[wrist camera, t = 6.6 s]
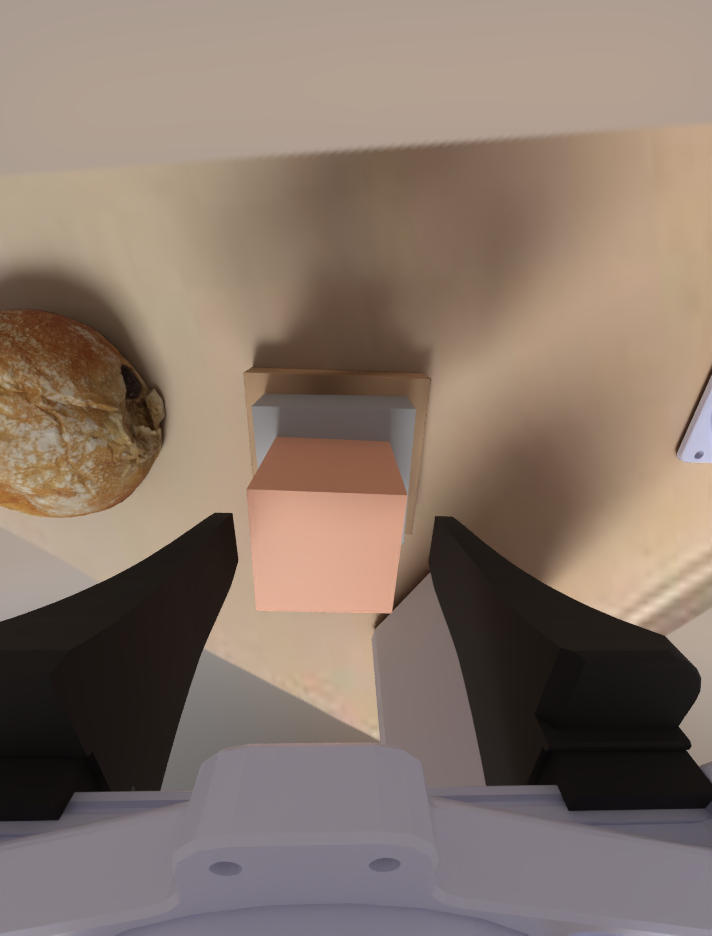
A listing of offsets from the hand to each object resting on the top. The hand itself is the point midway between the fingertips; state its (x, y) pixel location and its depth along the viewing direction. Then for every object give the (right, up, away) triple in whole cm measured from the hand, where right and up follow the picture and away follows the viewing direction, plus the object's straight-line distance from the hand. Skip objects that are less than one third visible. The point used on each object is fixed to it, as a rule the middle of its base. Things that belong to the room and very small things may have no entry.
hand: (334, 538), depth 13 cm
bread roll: (-15, +5, +7) cm, 17 cm away
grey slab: (0, +3, +6) cm, 7 cm away
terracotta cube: (0, +2, +4) cm, 4 cm away
